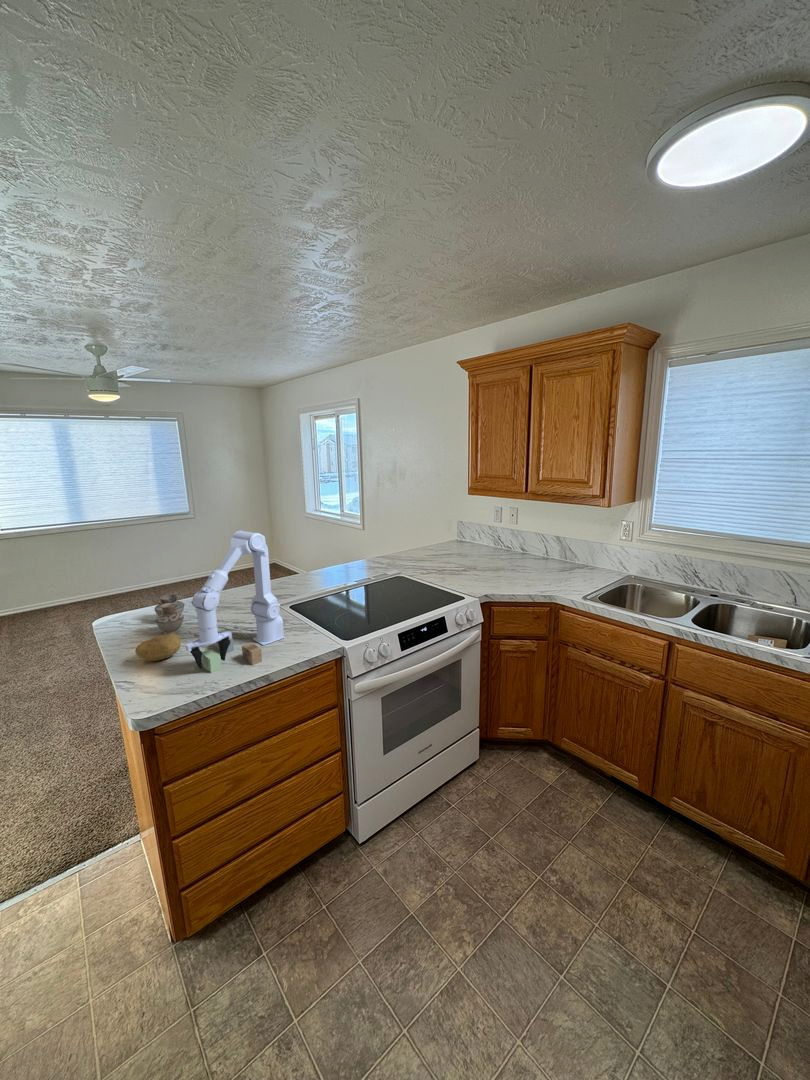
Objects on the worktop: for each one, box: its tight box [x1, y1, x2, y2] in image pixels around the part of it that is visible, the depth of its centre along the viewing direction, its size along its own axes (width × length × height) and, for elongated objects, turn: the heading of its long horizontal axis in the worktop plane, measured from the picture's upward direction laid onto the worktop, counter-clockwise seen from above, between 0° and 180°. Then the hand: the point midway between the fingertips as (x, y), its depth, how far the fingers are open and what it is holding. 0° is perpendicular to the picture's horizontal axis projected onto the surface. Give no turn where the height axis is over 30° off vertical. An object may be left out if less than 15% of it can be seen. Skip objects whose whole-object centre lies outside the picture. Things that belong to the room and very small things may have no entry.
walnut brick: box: [241, 642, 263, 666], centre depth 152 cm, size 7×4×5 cm, turn 47°
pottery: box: [153, 593, 185, 635], centre depth 179 cm, size 11×25×12 cm, turn 29°
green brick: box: [201, 649, 223, 674], centre depth 147 cm, size 7×4×5 cm, turn 47°
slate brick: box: [215, 637, 235, 654], centre depth 160 cm, size 7×4×5 cm, turn 47°
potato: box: [135, 633, 181, 662], centre depth 152 cm, size 10×14×8 cm
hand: (211, 663), depth 147 cm, fingers open, 7 cm apart
